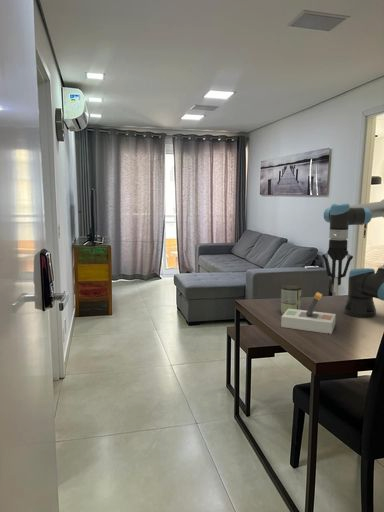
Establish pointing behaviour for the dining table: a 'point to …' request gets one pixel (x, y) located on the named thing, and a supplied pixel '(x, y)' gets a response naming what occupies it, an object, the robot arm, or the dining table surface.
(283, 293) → the coffee can
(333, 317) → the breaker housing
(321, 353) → the dining table surface
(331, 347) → the dining table surface
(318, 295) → the breaker lever
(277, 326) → the dining table surface
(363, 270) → the robot arm
